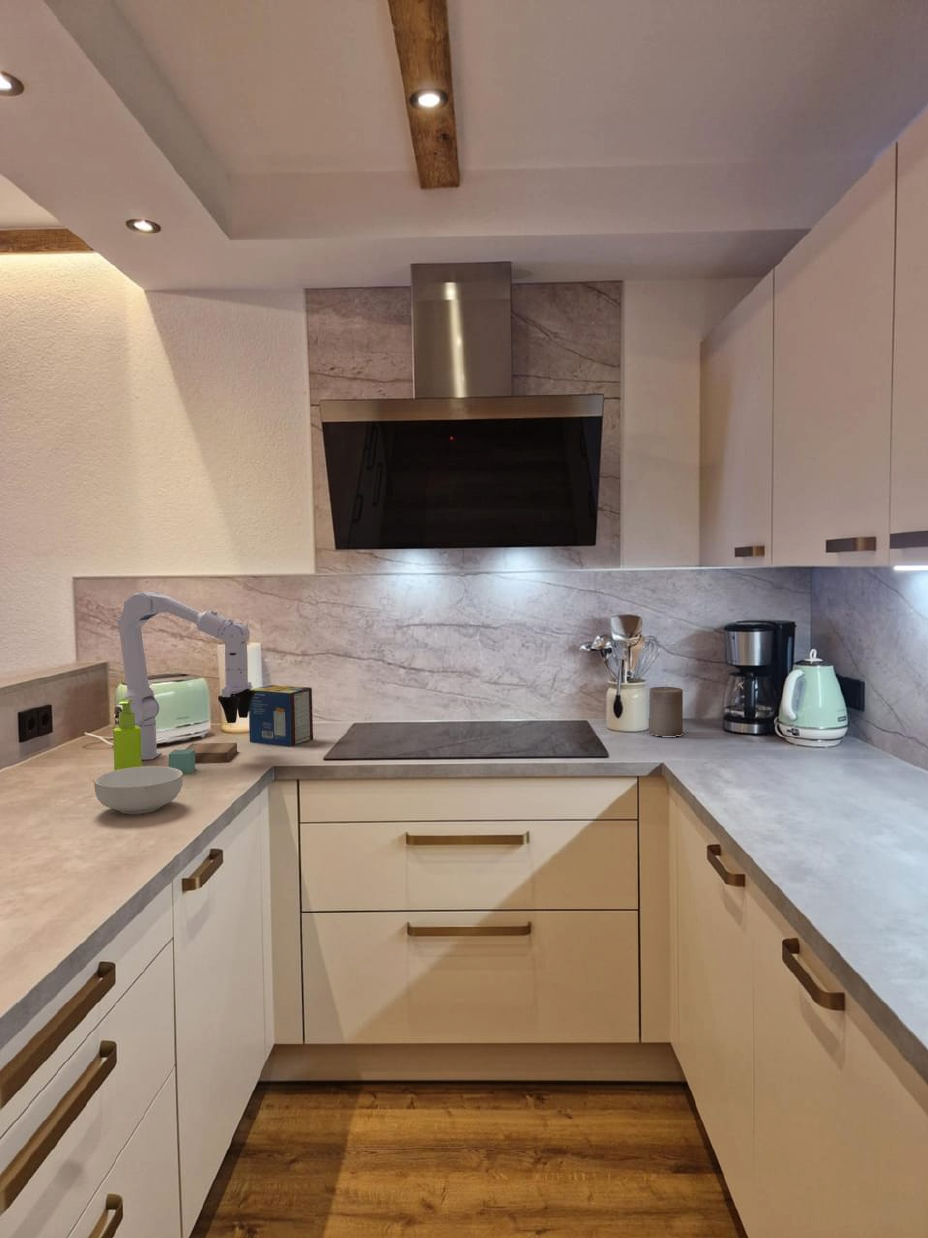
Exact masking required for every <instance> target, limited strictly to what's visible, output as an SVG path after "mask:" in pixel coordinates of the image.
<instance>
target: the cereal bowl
mask: <svg viewBox="0 0 928 1238" xmlns="http://www.w3.org/2000/svg"><path fill="white" fill-rule="evenodd" d="M183 776H184V774H183V773H182V771H180V770H178V769H175V768H171V767H169V766H160V765H159V766H157V765H155V766H154V765H152V766H151V765H150V766H149V765H147V766H143V765H142V767H133V768H125V769H120V770H115V771H114V770H112V771H109V772H105V773H102V774H101V775H99V776H97V777H96V778H95V779H94V783H93V785H94V792H95V796H96V798H97V800H98V802H100V804H101V805H102V806H105V807H106V808H109V809H112V810H116V811H118V812H119V813H121V814H125V815H140V814H141V815H142V814H147V813H148V814H149V813H152V812H155V811H157V810H159V809H160V808H161V807H163V806H165V805H167V804H169V803H170V802H172V801H173V800H175V799H176V797H178V795H179V793H181V789H182V787H183V781H184V780H183Z"/></svg>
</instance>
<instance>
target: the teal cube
mask: <svg viewBox="0 0 928 1238" xmlns="http://www.w3.org/2000/svg"><path fill="white" fill-rule="evenodd" d="M168 767H171V768H175V769H178V770H180V771H182V773H183V775H186V774H192V773H193V772H194V771H195V770H196V763H195V749H186V748H185V749H174V750H172V751H170V752H169V753H168Z"/></svg>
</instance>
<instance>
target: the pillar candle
mask: <svg viewBox="0 0 928 1238" xmlns="http://www.w3.org/2000/svg"><path fill="white" fill-rule="evenodd" d="M648 691H649V696H648V697H649V702H648V706H649V707H648V708H649V711H648V713H649V714H648V715H649V716H648V719H649V720H648V721H649V722H648V724H649V725H648V727H649V728H648V734H649V733H650V734H652V735H658V736H676V735H681V734H683V733H684V732H683V729H684V728H683V726H684V725H683V724H684V722H683V721H684V719H683V717H684V716H683V715H684V714H683V713H684V709H683V704H684V699H683V697H684V696H683V695H684V694H683V693H684V691H683V689H682V688H680V687H674V686H673V687H672V686H668V684H666V686H654V687H650V688H649V689H648ZM650 734H649V735H650ZM652 735H651V736H652Z"/></svg>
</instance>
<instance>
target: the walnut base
mask: <svg viewBox="0 0 928 1238" xmlns="http://www.w3.org/2000/svg"><path fill="white" fill-rule="evenodd" d="M185 749H195V764H199V763H228V762H229V761H230V760H231V759H232V757H234V756H235V755H236V753H237V752H238V742H206V743H205V742H203V743H202V742H201V743H200V742H199V743H191V744H190V745H189V746H188V747H186V748H185Z"/></svg>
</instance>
